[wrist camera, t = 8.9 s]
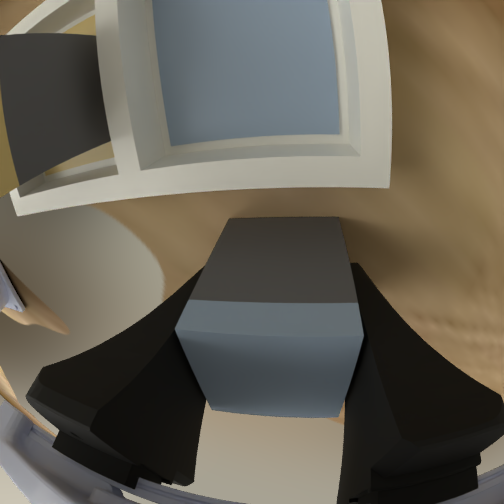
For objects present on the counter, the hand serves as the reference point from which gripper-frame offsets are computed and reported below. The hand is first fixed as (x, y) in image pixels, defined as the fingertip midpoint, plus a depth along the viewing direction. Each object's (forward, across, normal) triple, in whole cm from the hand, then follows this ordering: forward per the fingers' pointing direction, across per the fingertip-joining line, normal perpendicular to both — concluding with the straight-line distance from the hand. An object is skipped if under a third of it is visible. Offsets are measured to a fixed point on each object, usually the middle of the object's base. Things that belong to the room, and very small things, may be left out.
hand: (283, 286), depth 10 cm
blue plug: (+1, 0, 0) cm, 1 cm away
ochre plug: (0, +7, -8) cm, 11 cm away
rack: (+1, +4, -8) cm, 9 cm away
